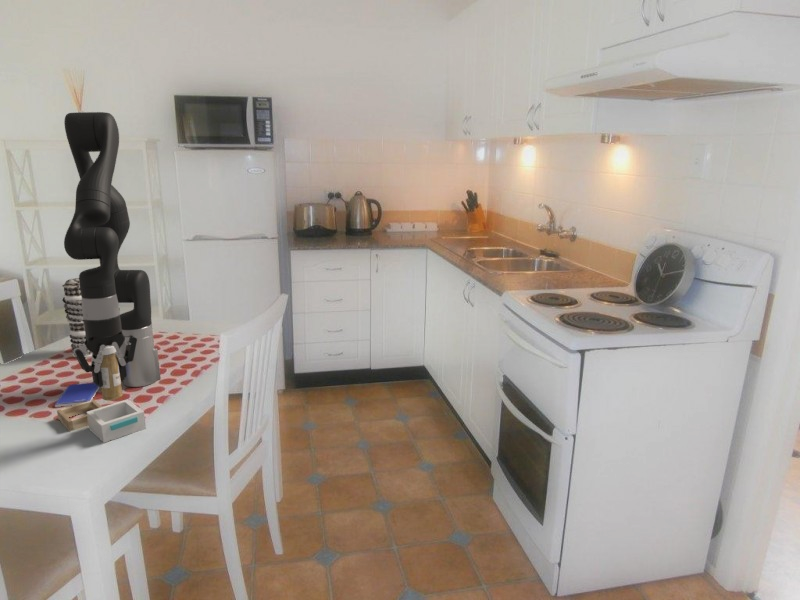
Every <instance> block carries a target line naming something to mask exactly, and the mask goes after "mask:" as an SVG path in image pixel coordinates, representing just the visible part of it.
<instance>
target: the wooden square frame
mask: <svg viewBox="0 0 800 600" xmlns="http://www.w3.org/2000/svg"><path fill="white" fill-rule="evenodd" d="M101 407H103V406H102V405H101V404H100V403H98V402H97V401H96V400H95V399H92V400H91V401H88V402H84V403H81V404H77V405H74V406H66V407H64V408H60V409H57V410H56V412H57V419H58V421H59V420H60V421H61V422H60V421H59V422H60V423H61V424H62V425H63V426H64V427H65V428H66V429H67V430H68V431H69V432H73V431H75V430H79V429H81V428H85V427H89V425H88V419H87V414H86V413H87V412H88V411H91V410H94V409H97V408H101ZM85 412H86V413H85ZM81 413H83V414H85V415H83V416H79V415H82V414H81ZM78 414H79V415H78ZM75 415H76V416H79V417H76V416H75ZM72 416H73V417H75V418H73V419H71V418H72ZM69 417H70V418H69Z"/></svg>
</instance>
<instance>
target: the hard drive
mask: <svg viewBox="0 0 800 600" xmlns="http://www.w3.org/2000/svg"><path fill="white" fill-rule="evenodd" d="M100 388H101V387H98V386H97V385H95V384H94V382H91V383H79V384H78V383H77V384H70V385H68V386H67V387H66V389H65V391H64V392H63V393H62V395H60V397H59V399H57V401H56V402H55V403H54V407H55V408H62V407H61V406H66V407H71V405H77V404H81V403H84V402H88V401H91V400H94V398H93V397H95V396H96V394H97V393H96V392H98V391H99V389H100Z"/></svg>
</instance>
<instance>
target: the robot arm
mask: <svg viewBox="0 0 800 600" xmlns="http://www.w3.org/2000/svg"><path fill="white" fill-rule="evenodd" d="M63 123H64V131H65V136H66V140H67V142H68V145H69V148H70V152H71V154H72V158H73V160H74V163H75V166H76V167H75V168H76V170H77V173H78V176H79V181H78V183H77V185H76V186H77V187H76V190H75V191H76V192H75V209H74V213H73V216H72V219H71V222H70V224H69V226H68V228H67V229H66V234H65V236H64V240H63V245H64V249H65V250H64V251H65V252H66V255H68V256H69V257H70V258H71V259H73V260H80V261H81V260H82V261H83V260H99V265H98V266H96V267H93V268H89V269H86V270H82V271H81V272H79V275H78V278H79V283H80V290H81V296H82V313H83V320H84V327H85V334H86V341H85V345H83V346H81V347H79V348H73V350H72V349H71V352H72V351H73V352H72V354H73V353H74V355H75V357H74V358H76V361H77V362H78V365H79V366H80V368H81V369H82V370H83V371H84V372H85V373H91V374H92V383H94V384H95V385H97V386H98V387H100V388H101V387H102V386H103V383H102V376H101V372H100V366H101V363H102V360H103V355H102V352H103V351H104V348H106V346H109V345H111V346H114V348H115V349H116V352H115V353H116V356H117V359H118V365H119V371H120V378H121V382H123V383H122V384H123V385H124V386H125V387H126V386H127V387H130V388H131V387H132V388H139V387H144V386H148V385H151V384H153V383H155V382H157V381H158V380H161V379H162V377H161V369H160V361H159V360H160V359H159V351H158V348H156V347H155V340H154V333H153V323H152V304H151V303H152V302H151V301H152V300H151V286H150V285H151V284H150V279H149V274H147V272H146V270H141V269H120V267H119V261H118V255H119V252H120V249H121V247H122V245H123V243H124V241H125V239H126V237H127V235H128V233H129V230H130V228H131V227H130V225H131V221H130V217H129V212H128V207H127V204H126V203H127V202H126V201H125V198H124V197H123V196H122V194H121V193H120V192H119V191H118V189H116V187H114V185H112V182H113V178H114V173H115V168H116V167H115V166H116V163H117V157H118V154H119V147H120V132H119V126H118V123H117V121H116V119H115V117H114V116H113V114H111V113H109V112H103V111H102V112H101V111H97V112H96V111H95V112H94V111H91V112H89V111H87V112H79V111H78V112H68V113H66V114H65V117H64V122H63ZM91 152H92V153H95V152H99V153H98V156H97V158H95V161H93V159H92V157H91V154H90V153H91ZM121 303H123V304H125V303H126V304H128V303H129V304H133V309H130V310H129V311H126V312H123V313H120V311H121V307H120V304H121ZM87 349H88V350H89V351H91V352H92V356H91V357H90V358H91V363H90V364H89V363H88V361H87V359H86V357H84V356H85V355H86V350H87ZM100 354H101V355H100Z"/></svg>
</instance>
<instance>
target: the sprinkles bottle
mask: <svg viewBox="0 0 800 600" xmlns="http://www.w3.org/2000/svg"><path fill="white" fill-rule="evenodd" d="M115 352H116V349H115V348H114V346H111V345H109V346H106V348H104V351H103V352H102V355H103V360H102V363H101V366H100V372H101V376H102V383H103V386H102V387H100V388H101V398H102V400H104V401H107V402H109V401H116V400H118V399H121V398H122V397H123V396H124V393H123V388H122V381H121V378H120V371H119V365H118V359H117V356H116V353H115ZM100 355H101V354H100Z"/></svg>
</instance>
